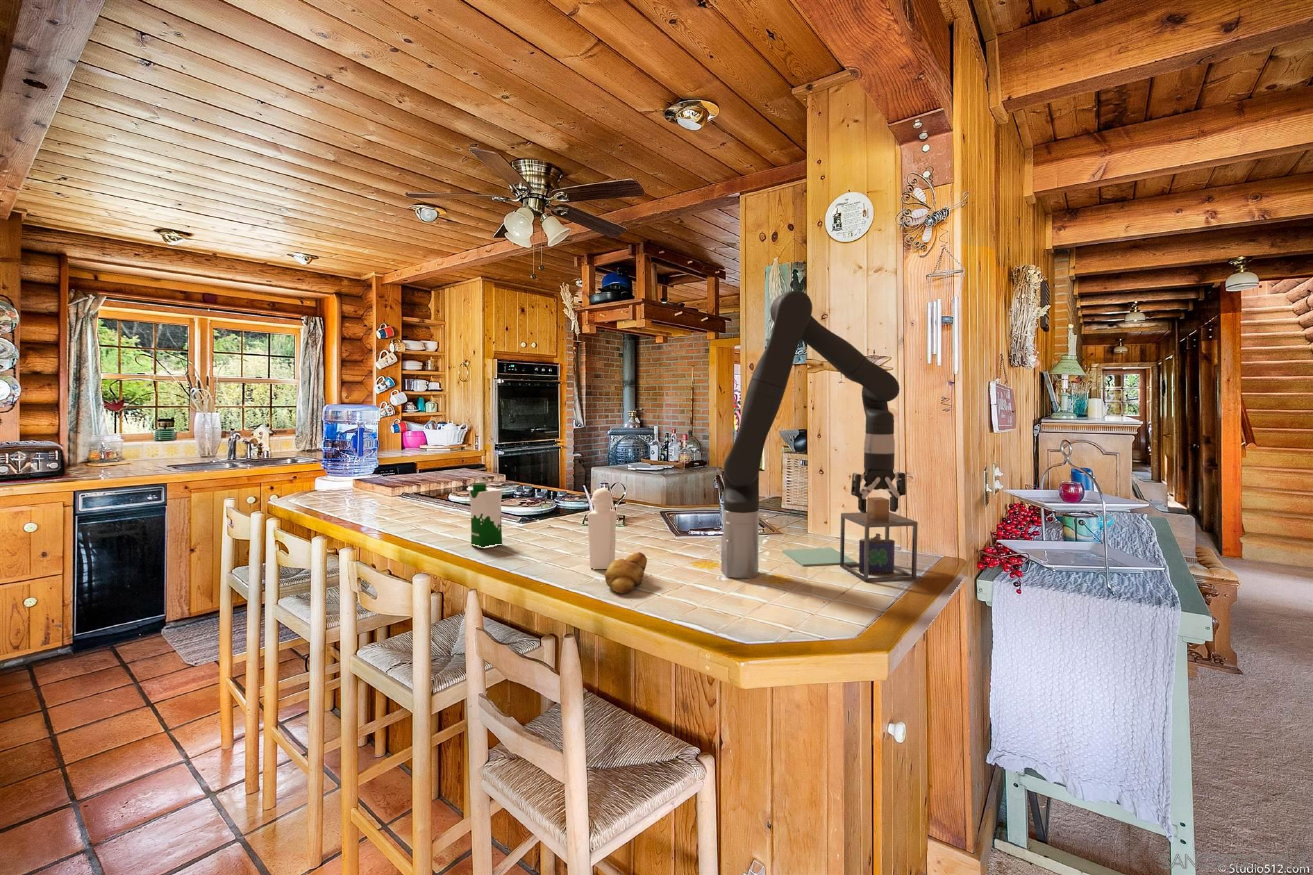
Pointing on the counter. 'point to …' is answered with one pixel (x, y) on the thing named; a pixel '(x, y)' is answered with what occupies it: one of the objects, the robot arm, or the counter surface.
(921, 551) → the counter surface
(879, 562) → the flask
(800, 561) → the mat
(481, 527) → the milk carton
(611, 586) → the bread roll
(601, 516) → the beige bottle
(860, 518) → the metal frame side table
